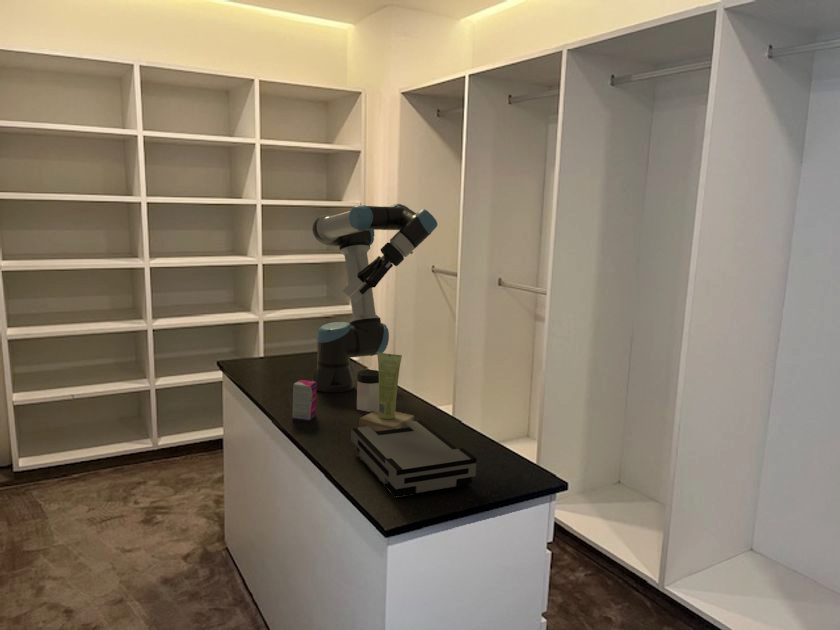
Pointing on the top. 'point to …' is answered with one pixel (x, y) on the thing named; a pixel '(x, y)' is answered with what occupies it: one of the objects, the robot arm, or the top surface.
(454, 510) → the top surface
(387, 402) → the tube
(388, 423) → the oak block
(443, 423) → the top surface
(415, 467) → the game console
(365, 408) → the jar
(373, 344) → the robot arm
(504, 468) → the top surface
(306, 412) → the supplement box
